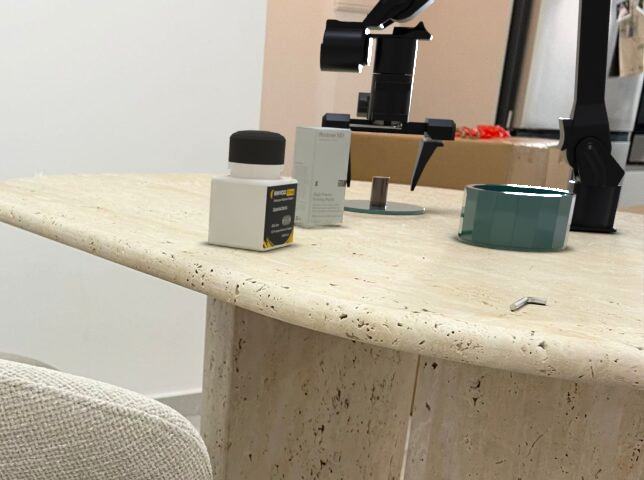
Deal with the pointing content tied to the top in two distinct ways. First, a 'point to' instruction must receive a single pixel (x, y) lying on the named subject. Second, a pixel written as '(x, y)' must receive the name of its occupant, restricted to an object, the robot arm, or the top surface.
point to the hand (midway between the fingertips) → (380, 189)
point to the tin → (516, 217)
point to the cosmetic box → (320, 175)
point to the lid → (381, 201)
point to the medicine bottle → (253, 195)
